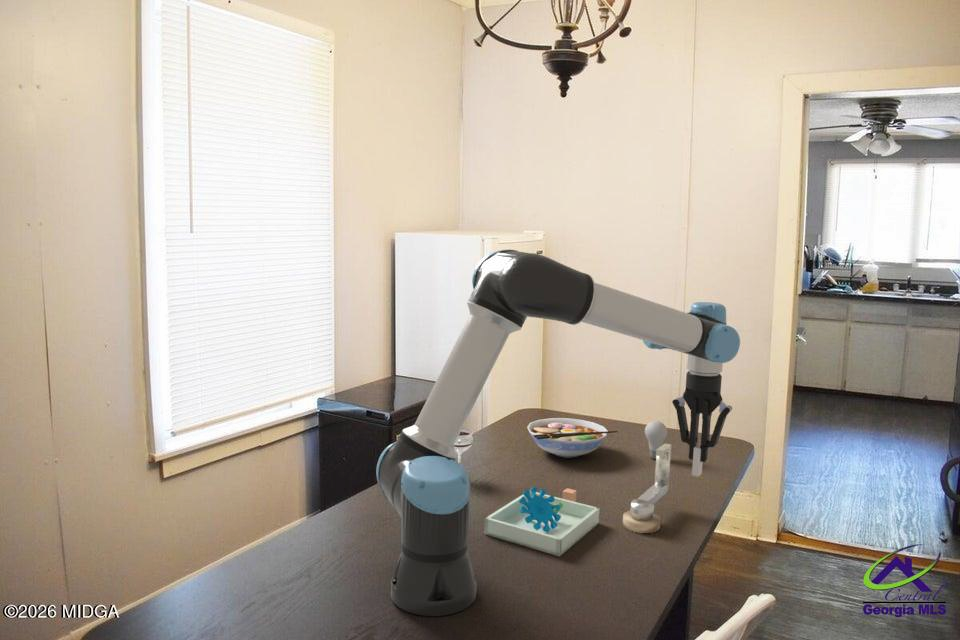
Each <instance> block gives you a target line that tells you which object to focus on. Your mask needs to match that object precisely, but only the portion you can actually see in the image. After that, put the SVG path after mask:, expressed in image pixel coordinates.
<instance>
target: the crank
mask: <svg viewBox="0 0 960 640" xmlns="http://www.w3.org/2000/svg"><path fill="white" fill-rule="evenodd" d="M671 453H672V444H670V443H664V442H663V443H662V445H661V447H659V448H657V450H656V459H655V469H654V483H653V485H652V486H650V487H649V488H648V489H647V490H646V491H644V492H643V493H642V494H641V495H640V496H639V497H638V498H636V499H632V500H631V501H630V510H629V511H630V516H631V517H632V518H633V519H635V520H639V521H650V520H652V519H653V517H654V514H655V504H656V502H658V501H659V500H660V499H661V498H663V496H664V495H665V494H666V493H667V492H668V491H669V484H670V483H669V482H670V471H671V469H670V468H671V456H672V455H671Z"/></svg>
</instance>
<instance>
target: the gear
mask: <svg viewBox="0 0 960 640" xmlns="http://www.w3.org/2000/svg"><path fill="white" fill-rule="evenodd" d="M538 490H539V489H538V488H537V487H535V486H532V487H531V488H530V491H531V492H532V498H531V497H530V491H529V489H526V490H524V491H523V492H522V495H524V496H525V497H526V498H527V500H528V502H527V501H526V499H525V497H522V498H521V499H520V500H519V502H520V503H521V504H524V505H525V506H526V507H527V508H528V510H527V509H526V507H524V506H522V507H521V508H520V513H522V514H523V513H527V514H530V515H529V516H527V517H526V518H525V521H526V522H527V523H530V522H531V521H532V520H537V522H538V523H536V524H535V525H534V526H533V527H534V528H535V529H536V530H539V529H540V527H541V523H542V522H543V523H544V524H545V526H544V527H543V531H545V532H548V531H549V530H550V527H549V524H548V521H550V522H551V525H550V526H551V528H552V529H554V528H556V527H557V526H558V525H557V523H556V522H555V521H559V520H560V519H561V516H560V515H559V514H557V512H558V511H559V510H560V509H561V508H562V507H563V504H562V503H559V504H558V505H552V504H550V503H549V502H553V501H554V500H555V499H554V497H555V496H554V495H551V494H550V495H549V496H550V497H549V498H543V496H544V495H547V493H548V491H547V490H546V489H544V488H541V490H539V493H540V495H539V496H537V495H536V492H538ZM548 501H549V502H548ZM552 516H553V517H554V519H555V521H554V520H553V517H552Z"/></svg>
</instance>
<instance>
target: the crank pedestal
mask: <svg viewBox="0 0 960 640" xmlns="http://www.w3.org/2000/svg"><path fill="white" fill-rule="evenodd" d="M622 526H623V528H624V529H626V530H628V531H629V532H632V531H633V532H632V533H636V532H637V533H636V534H642V533H651V534H654V533H653V532H655V533H657V532H656V531H658V530H659V529H661V517H660V516H659V515H657V514H656V513H654V517H653V519H652V520H650V521H639V520H635V519H633V518H632V517H631V516H630V510H628V511H624V513H623V515H622ZM659 531H660V530H659ZM659 531H658V532H659Z"/></svg>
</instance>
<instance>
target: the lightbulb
mask: <svg viewBox="0 0 960 640" xmlns="http://www.w3.org/2000/svg"><path fill="white" fill-rule="evenodd" d="M644 434H645V437H646V439H647V441H648V449H649V457H650V458H651V459H652V460H656V450H657V448H659V447H661V446H662V445H663V444H664V441H665V440H666V438H667V435H668V428H667V426H666V425H665V424H664V423H663V422H662V421H659V420H652V421H649V422H648V423H647V424H646V425H645V429H644Z"/></svg>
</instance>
